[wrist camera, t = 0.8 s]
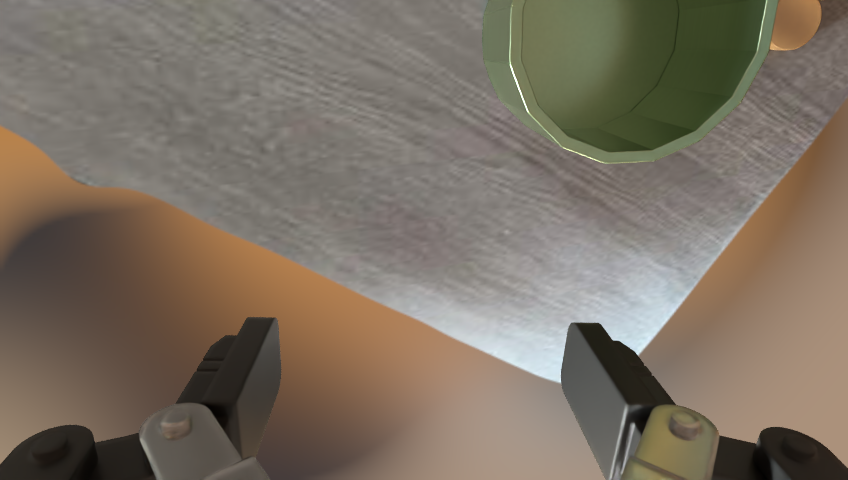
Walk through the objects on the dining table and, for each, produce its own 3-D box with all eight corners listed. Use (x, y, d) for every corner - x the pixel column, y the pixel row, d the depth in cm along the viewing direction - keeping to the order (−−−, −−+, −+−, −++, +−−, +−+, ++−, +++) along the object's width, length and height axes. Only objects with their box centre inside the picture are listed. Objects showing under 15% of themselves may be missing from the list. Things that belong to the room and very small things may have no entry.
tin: (482, -80, 33) (513, -127, 24) (697, -87, 34) (805, -135, 25) (481, 141, 38) (507, 168, 30) (669, 132, 39) (749, 157, 30)
